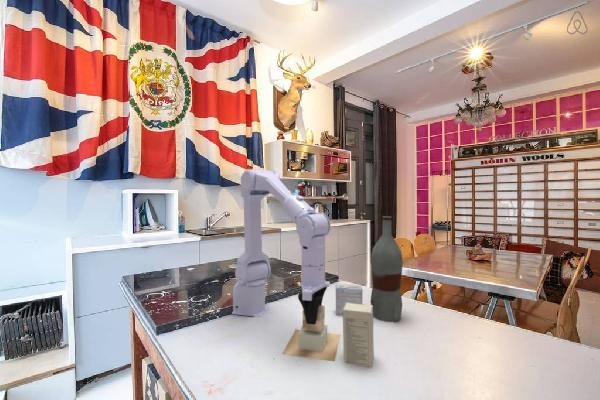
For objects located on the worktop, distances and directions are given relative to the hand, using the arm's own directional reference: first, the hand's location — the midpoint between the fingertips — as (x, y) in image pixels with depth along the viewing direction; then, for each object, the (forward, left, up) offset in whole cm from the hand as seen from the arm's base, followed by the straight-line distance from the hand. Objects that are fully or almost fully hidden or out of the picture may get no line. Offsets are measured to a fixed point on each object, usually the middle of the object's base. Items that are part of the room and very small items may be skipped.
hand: (313, 319), depth 71 cm
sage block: (0, 0, -6) cm, 6 cm away
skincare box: (+11, -4, -7) cm, 13 cm away
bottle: (+18, +21, -7) cm, 28 cm away
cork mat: (0, 0, -6) cm, 6 cm away
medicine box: (+7, +20, -7) cm, 22 cm away
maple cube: (0, 0, -2) cm, 2 cm away
